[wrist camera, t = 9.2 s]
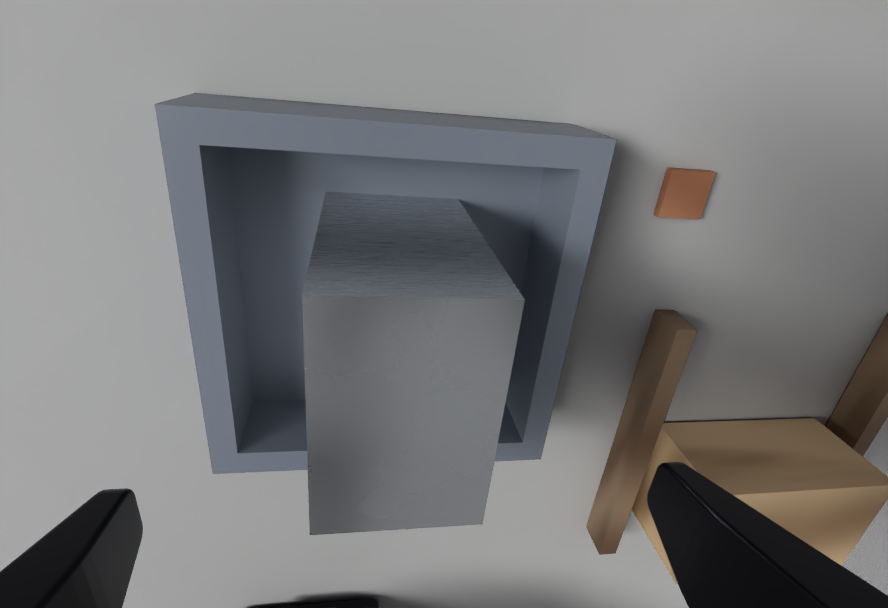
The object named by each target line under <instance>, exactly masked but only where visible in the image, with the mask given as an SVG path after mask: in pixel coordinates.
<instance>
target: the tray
mask: <svg viewBox="0 0 888 608" xmlns="http://www.w3.org/2000/svg"><path fill="white" fill-rule="evenodd" d="M155 109H156V115H157V121H158V128H159V134H160V141H161V147H162V153H163V160H164V166H165V172H166V179H167V185H168V192H169V198H170V204H171V211H172V217H173V223H174V230H175V236H176V243H177V249H178V255H179V262H180V268H181V274H182V281H183V287H184V293H185V300H186V306H187V313H188V319H189V325H190V332H191V338H192V344H193V351H194V357H195V364H196V370H197V376H198V383H199V389H200V395H201V402H202V408H203V415H204V421H205V427H206V434H207V440H208V446H209V453H210V459H211V466H212V472H213V474H221V473H243V472H265V471H288V470H308V460H307V430H306V400H305V370H304V339H303V309H302V293H303V289H304V285H305V280H306V276H307V271H308V267H309V263H310V258H311V254H312V250H313V245H314V241H315V236H316V232H317V228H318V223H319V219H320V215H321V210H322V206H323V201H324V197H325V193H326V192H342V193H359V194H377V195H394V196H411V197H429V198H446V199H458V200H459V201H460V203H461V204H462V206H463V207H464V209H465V210H466V212H467V213H468V215H469V216H470V218H471V219H472V221H473V222H474V224H475V225H476V227H477V228H478V230H479V231H480V233H481V234H482V236H483V237H484V239H485V240H486V242H487V243H488V245H489V246H490V248H491V249H492V251H493V253H494V254H495V256H496V257H497V259H498V260H499V262H500V263H501V265H502V266H503V268H504V269H505V271H506V272H507V274H508V275H509V277H510V278H511V280H512V281H513V283H514V284H515V286H516V287H517V289H518V290H519V292H520V293H521V295H522V296H523V298H524V299H525V302H524V307H523V312H522V318H521V323H520V328H519V333H518V339H517V344H516V349H515V355H514V360H513V365H512V370H511V376H510V381H509V386H508V391H507V397H506V402H505V407H504V413H503V418H502V423H501V428H500V434H499V439H498V444H497V450H496V455H495V460H494V461H511V460H534V459H541V456H542V452H543V448H544V444H545V439H546V435H547V431H548V427H549V423H550V418H551V414H552V410H553V406H554V401H555V397H556V393H557V389H558V385H559V380H560V376H561V372H562V368H563V363H564V359H565V355H566V351H567V347H568V342H569V338H570V334H571V330H572V326H573V321H574V317H575V313H576V309H577V304H578V300H579V296H580V292H581V288H582V283H583V279H584V275H585V271H586V266H587V262H588V258H589V254H590V250H591V245H592V241H593V237H594V233H595V229H596V224H597V220H598V216H599V212H600V207H601V203H602V199H603V195H604V191H605V186H606V182H607V178H608V174H609V170H610V165H611V161H612V157H613V153H614V148H615V144H616V139H613V138H610V137H607V136H604V135H601V134H599V133H596V132H593V131H590V130H587V129H584V128H582V127H579V126H576V125H573V124H565V123H553V122H541V121H529V120H517V119H505V118H492V117H480V116H468V115H456V114H444V113H432V112H419V111H407V110H395V109H383V108H371V107H359V106H346V105H334V104H322V103H310V102H298V101H286V100H274V99H261V98H249V97H237V96H225V95H213V94H201V93H193V94H190V95H186V96H182V97H179V98H175V99H171V100H168V101H164V102H160V103H157V104H155Z"/></svg>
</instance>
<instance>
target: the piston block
mask: <svg viewBox="0 0 888 608" xmlns="http://www.w3.org/2000/svg"><path fill="white" fill-rule="evenodd" d="M666 462H682V463H684V464H686V465H688V466H689V467H691V468H692V469H694V470H695V471H697V472H699V473H700V474H702V475H703V476H705V477H706V478H708V479H709V480H711V481H712V482H714V483H715V484H717V485H718V486H720V487H722V488H723V489H725V490H726V491H728V492H729V493H731V494H732V495H734V496H735V497H737V498H738V499H740V500H742V501H743V502H745V503H746V504H748V505H749V506H751V507H752V508H754V509H755V510H757V511H758V512H760V513H761V514H763V515H765V516H766V517H768V518H769V519H771V520H772V521H774V522H775V523H777V524H778V525H780V526H781V527H783V528H784V529H786V530H788V531H789V532H791V533H792V534H794V535H795V536H797V537H798V538H800V539H801V540H803V541H804V542H806V543H807V544H809V545H811V546H812V547H814V548H815V549H817V550H818V551H820V552H821V553H823V554H824V555H826V556H827V557H829V558H830V559H832V560H834V561H835V562H837V563H838V564H840V565H841V566H842V565H843V563H844V562H845V560H846V559H847V557H848V556H849V554H850V553H851V551H852V550H853V548H854V547H855V546H856V544H857V543H858V541H859V540H860V538H861V537H862V535H863V534H864V532H865V531H866V529H867V528H868V527H869V525H870V524H871V522H872V521H873V519H874V518H875V516H876V515H877V513H878V512H879V510H880V509H881V507H882V506H883V505H884V503H885V502H886V500H887V499H888V477H887V476H886V475H884V474H883V473H882V472H881V471H879V470H878V469H877V468H876V467H874V466H873V465H872V464H871V463H869V462H868V461H867V460H866V459H865V458H863V457H862V456H861V455H860V454H858V453H857V452H856V451H855V450H853V449H852V448H851V447H850V446H848V445H847V444H846V443H845V442H844V441H842V440H841V439H840V438H839V437H837V436H836V435H835V434H834V433H832V432H831V431H830V430H829V429H828V428H826V427H825V426H824V425H823V424H821V423H820V422H819V421H818V420H816V419H815V418H804V419H774V420H743V421H713V422H682V423H663V425H662V428H661V431H660V433H659V436H658V439H657V441H656V444H655V447H654V450H653V452H652V455H651V458H650V460H649V463H648V466H647V469H646V471H645V474H644V477H643V480H642V482H641V485H640V488H639V490H638V493H637V496H636V499H635V501H634V504H633V507H632V511H633V512H634V514H635V516H636V517H637V519H638V521H639V523H640V524H641V526H642V528H643V529H644V531H645V533H646V534H647V536H648V538H649V539H650V541H651V543H652V544H653V546H654V548H655V550H656V551H657V553H658V555H659V556H660V558H661V560H662V561H663V563H664V565H665V566H666V568H667V570H668V571H669V573H670V575H671V577H672V578H673V580H674V582H675V583H676V584H678V583H677V580H676V578H675V575H674V573H673V570H672V568H671V565H670V562H669V560H668V557H667V555H666V552H665V549H664V547H663V544H662V542H661V539H660V536H659V534H658V531H657V529H656V526H655V523H654V521H653V518H652V516H651V513H650V510H649V508H648V504H647V493H648V490H649V487H650V485H651V482H652V479H653V477H654V474H655V472H656V469H657V467H658V466H659V465H660V464H661V463H666Z"/></svg>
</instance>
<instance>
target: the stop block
mask: <svg viewBox="0 0 888 608" xmlns="http://www.w3.org/2000/svg"><path fill="white" fill-rule="evenodd" d="M524 302H525V299H524V298H523V296H522V295H521V293H520V292H519V290H518V289H517V287H516V286H515V284H514V283H513V281H512V280H511V278H510V277H509V275H508V274H507V272H506V271H505V269H504V268H503V266H502V265H501V263H500V262H499V260H498V259H497V257H496V256H495V254H494V253H493V251H492V249H491V248H490V246H489V245H488V243H487V242H486V240H485V239H484V237H483V236H482V234H481V233H480V231H479V230H478V228H477V227H476V225H475V224H474V222H473V221H472V219H471V218H470V216H469V215H468V213H467V212H466V210H465V209H464V207H463V206H462V204H461V203H460V201H459V200H458V199H446V198H429V197H411V196H394V195H377V194H359V193H342V192H326V193H325V197H324V201H323V206H322V210H321V215H320V219H319V223H318V228H317V232H316V236H315V241H314V245H313V250H312V254H311V258H310V263H309V267H308V271H307V276H306V280H305V285H304V289H303V293H302V309H303V339H304V370H305V400H306V430H307V460H308V490H309V520H310V535H318V534H334V533H349V532H365V531H381V530H397V529H412V528H428V527H444V526H460V525H475V524H482V523H483V518H484V513H485V508H486V502H487V497H488V492H489V486H490V481H491V476H492V471H493V465H494V460H495V455H496V450H497V444H498V439H499V434H500V428H501V423H502V418H503V413H504V407H505V402H506V397H507V391H508V386H509V381H510V376H511V370H512V365H513V360H514V355H515V349H516V344H517V339H518V333H519V328H520V323H521V318H522V312H523V307H524Z"/></svg>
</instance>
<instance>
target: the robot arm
mask: <svg viewBox="0 0 888 608" xmlns="http://www.w3.org/2000/svg"><path fill="white" fill-rule="evenodd" d="M647 504H648V508H649V510H650V513H651V516H652V518H653V521H654V523H655V526H656V529H657V531H658V534H659V536H660V539H661V542H662V544H663V547H664V549H665V552H666V555H667V557H668V560H669V562H670V565H671V568H672V570H673V573H674V575H675V578H676V580H677V583H678V585H679V587H680V590H681V592H682V594H683V596H684V598H685V600H686V602H687V605H688V607H689V608H888V596H887V595H886V594H884V593H883V592H881V591H880V590H878V589H877V588H875V587H873V586H872V585H870V584H869V583H867V582H866V581H864V580H863V579H861V578H860V577H858V576H857V575H855V574H854V573H852V572H850V571H849V570H847V569H846V568H844V567H843V566H841V565H840V564H838V563H837V562H835V561H834V560H832V559H830V558H829V557H827V556H826V555H824V554H823V553H821V552H820V551H818V550H817V549H815V548H814V547H812V546H811V545H809V544H807V543H806V542H804V541H803V540H801V539H800V538H798V537H797V536H795V535H794V534H792V533H791V532H789V531H788V530H786V529H784V528H783V527H781V526H780V525H778V524H777V523H775V522H774V521H772V520H771V519H769V518H768V517H766V516H765V515H763V514H761V513H760V512H758V511H757V510H755V509H754V508H752V507H751V506H749V505H748V504H746V503H745V502H743V501H742V500H740V499H738V498H737V497H735V496H734V495H732V494H731V493H729V492H728V491H726V490H725V489H723V488H722V487H720V486H718V485H717V484H715V483H714V482H712V481H711V480H709V479H708V478H706V477H705V476H703V475H702V474H700V473H699V472H697V471H695V470H694V469H692V468H691V467H689V466H688V465H686V464H684V463H682V462H666V463H661V464H660V465H659V466H658V467H657V469H656V472H655V474H654V477H653V479H652V482H651V485H650V487H649V490H648V493H647ZM142 532H143V525H142V521H141V517H140V513H139V509H138V505H137V501H136V498H135V495H134V492H133V491H132V490H131V489H108V490H103V491H100V492H99V493H97V494H96V495H94V496H93V497H92V498H91V499H89V500H88V501H87V502H86V503H84V504H83V505H82V506H81V507H79V508H78V509H77V510H76V511H75V512H73V513H72V514H71V515H70V516H68V517H67V518H66V519H65V520H63V521H62V522H61V523H60V524H58V525H57V526H56V527H55V528H54V529H52V530H51V531H50V532H49V533H47V534H46V535H45V536H44V537H42V538H41V539H40V540H39V541H37V542H36V543H35V544H34V545H33V546H31V547H30V548H29V549H28V550H26V551H25V552H24V553H23V554H21V555H20V556H19V557H18V558H16V559H15V560H14V561H13V562H12V563H10V564H9V565H8V566H7V567H5V568H4V569H3V570H2V571H0V608H122V606H123V602H124V599H125V595H126V592H127V588H128V585H129V581H130V578H131V574H132V571H133V567H134V564H135V560H136V557H137V553H138V550H139V546H140V543H141V539H142ZM273 608H379V602H378V601H377V600H375V599H361V600H350V601H339V602H328V603H317V604H306V605H295V606H284V607H273Z"/></svg>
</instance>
